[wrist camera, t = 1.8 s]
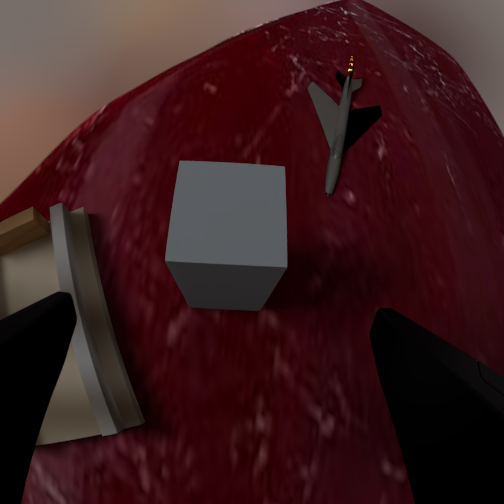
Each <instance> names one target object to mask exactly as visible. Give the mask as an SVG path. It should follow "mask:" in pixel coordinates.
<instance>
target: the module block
mask: <svg viewBox="0 0 504 504" xmlns="http://www.w3.org/2000/svg"><path fill="white" fill-rule="evenodd" d="M165 262H166V264H167V266H168V268H169V269H170V271H171V273H172V275H173V277H174V279H175V281H176V283H177V285H178V286H179V288H180V290H181V292H182V294H183V296H184V297H185V299H186V301H187V303H188V305H189V306H190V307H192V308H209V309H228V310H251V311H260V310H261V309H262V307H263V306H264V304H265V302H266V301H267V299H268V298H269V296H270V294H271V293H272V291H273V290H274V288H275V286H276V285H277V283H278V282H279V280H280V278H281V277H282V275H283V273H284V272H285V270H286V269H287V222H286V186H285V167H283V166H270V165H257V164H242V163H224V162H201V161H180V162H179V168H178V174H177V180H176V186H175V192H174V199H173V205H172V212H171V219H170V226H169V233H168V241H167V249H166V257H165Z"/></svg>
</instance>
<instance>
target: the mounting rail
mask: <svg viewBox="0 0 504 504" xmlns="http://www.w3.org/2000/svg"><path fill="white" fill-rule="evenodd" d="M50 217H51V221H47V220H46V219H45V218H44V217H43V216H42V215H41V214H40V213H39V212H38V211H37V210H36V209H35V208H34V207H31V208H29V209H27V210H25V211H23V212H20V213H18V214H16V215H14V216H12V217H10V218H8V219H6V220H4V221H2V222H0V320H1V319H3V318H5V317H7V316H9V315H11V314H13V313H15V312H17V311H19V310H21V309H23V308H25V307H27V306H29V305H31V304H33V303H35V302H37V301H39V300H41V299H43V298H45V297H47V296H49V295H51V294H54V293H56V292H58V291H61V292H69V293H70V294H71V295H72V298H73V302H74V306H75V310H76V314H77V324H76V327H75V330H74V333H73V336H72V340H71V343H70V346H69V350H68V353H67V357H66V360H65V363H64V366H63V368H62V371H61V374H60V376H59V379H58V381H57V384H56V387H55V389H54V392H53V395H52V397H51V400H50V403H49V406H48V409H47V411H46V414H45V417H44V420H43V423H42V426H41V429H40V433H39V436H38V439H37V442H36V445H43V444H50V443H56V442H62V441H68V440H74V439H79V438H84V437H89V436H94V435H99V434H102V436H106V435H111V434H115V433H118V432H120V431H122V430H123V429H125V428H129V427H133V426H137V425H141V424H143V423H144V422H145V420H144V418H143V415H142V413H141V410H140V407H139V405H138V402H137V400H136V397H135V394H134V392H133V389H132V386H131V383H130V380H129V377H128V375H127V372H126V369H125V366H124V363H123V360H122V356H121V353H120V350H119V347H118V344H117V340H116V337H115V334H114V330H113V327H112V323H111V319H110V316H109V312H108V308H107V304H106V300H105V296H104V292H103V288H102V284H101V280H100V275H99V271H98V266H97V261H96V256H95V251H94V246H93V241H92V235H91V229H90V223H89V217H88V213H87V212H86V210H85V209H84V208H83V207H82V208H80V209H77V210H75V211H72V212H69V211H68V209H67V208H66V207H65V206H64V205H63V203H59V204H57V205H55V206H52V207H50Z"/></svg>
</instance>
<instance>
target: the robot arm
mask: <svg viewBox="0 0 504 504" xmlns="http://www.w3.org/2000/svg"><path fill="white" fill-rule="evenodd" d="M76 324H77V314H76V310H75V306H74V302H73V298H72V295H71V294H70V293H69V292H61V291H58V292H56V293H54V294H51V295H49V296H47V297H45V298H43V299H41V300H39V301H37V302H35V303H33V304H31V305H29V306H27V307H25V308H23V309H21V310H19V311H17V312H15V313H13V314H11V315H9V316H7V317H5V318H3V319H1V320H0V504H21V501H22V496H23V492H24V487H25V482H26V478H27V475H28V471H29V467H30V463H31V460H32V456H33V452H34V449H35V446H36V442H37V439H38V436H39V433H40V429H41V426H42V423H43V420H44V417H45V414H46V411H47V409H48V406H49V403H50V400H51V397H52V395H53V392H54V389H55V387H56V384H57V381H58V379H59V376H60V374H61V371H62V368H63V366H64V363H65V360H66V357H67V353H68V350H69V346H70V343H71V340H72V336H73V333H74V330H75V327H76ZM370 340H371V345H372V349H373V353H374V358H375V362H376V367H377V371H378V376H379V380H380V383H381V386H382V389H383V392H384V395H385V398H386V401H387V405H388V408H389V411H390V414H391V417H392V421H393V424H394V427H395V431H396V434H397V437H398V441H399V444H400V448H401V451H402V455H403V458H404V462H405V466H406V470H407V473H408V477H409V481H410V485H411V489H412V493H413V497H414V502H415V504H504V376H502V375H500V374H499V373H497V372H495V371H494V370H492V369H490V368H489V367H487V366H485V365H484V364H482V363H481V362H479V361H478V362H477V360H476V359H474V358H472V357H471V356H469V355H468V354H466V353H464V352H463V351H461V350H459V349H458V348H456V347H455V346H453V345H451V344H450V343H448V342H446V341H445V340H443V339H442V338H440V337H438V336H437V335H435V334H433V333H432V332H430V331H428V330H427V329H425V328H423V327H422V326H420V325H418V324H417V323H415V322H413V321H412V320H410V319H408V318H407V317H405V316H403V315H402V314H400V313H398V312H397V311H395V310H393V309H391V308H380V309H379V310H378V311H377V312H376V315H375V318H374V321H373V324H372V327H371V330H370Z"/></svg>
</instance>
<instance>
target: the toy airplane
mask: <svg viewBox="0 0 504 504" xmlns="http://www.w3.org/2000/svg"><path fill="white" fill-rule="evenodd" d="M351 57H352V56H351ZM352 60H353V59H352ZM354 64H355V61H354ZM354 64H353V67H352V70H351V69H349V70H351V74H350V76H348V77H345V76H344V75H342V74H341V73H340V72H339V71H338V70H337V74H336V79H337V80H338V82H339V83H340V85H341V87H342V88H343V89H342V95H341V100H340V106H338V105H337V104H336V103H335V102H334V101H333V100H332V99H331V98H330V97H329V96H328V95H327V94H326V93H325V92H323V91H322V90H321V89H320V88H319V87H318V86H317V85H316V84H315V83H314V82H312V83H311V84H310V86H309V87H308V90H309V93H310V95H311V98H312V100H313V103H314V106H315V108H316V111H317V113H318V116H319V119H320V122H321V124H322V127H323V130H324V133H325V135H326V138H327V141H328V144H329V147H330V150H331V152H330V157H329V162H328V167H327V174H326V184H325V193H327V196H328V195H329V193H331V194H332V192H333V189H334V187H335V184H336V181H337V177H338V174H339V170H340V165H341V159H342V154H343V153H344V152H345V151H346V150H347V149H348V148H349V147H350V146H351V145H352V144H353V143H354V142H355V141H356V140H357V139H358V138H359V137H360V136H361V135H362V134H363V133H364V132H365V131H366V130H367V129H368V128H369V127H370V126H371V125H372V124H373V123H374V122H375V121H376V120H377V119H378V118H379V117H380V116H381V115H382V114H381V108H380V106H374V107H367V108H360V109H354V110H350V103H351V95H352V92H353V91H354V90H356V89H358V88H360V87H361V83H362V79H356V80H353V79H352V74H353V70H354ZM349 70H348V71H349ZM330 196H331V195H330Z"/></svg>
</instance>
